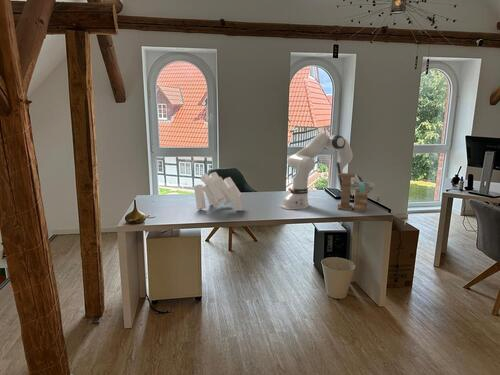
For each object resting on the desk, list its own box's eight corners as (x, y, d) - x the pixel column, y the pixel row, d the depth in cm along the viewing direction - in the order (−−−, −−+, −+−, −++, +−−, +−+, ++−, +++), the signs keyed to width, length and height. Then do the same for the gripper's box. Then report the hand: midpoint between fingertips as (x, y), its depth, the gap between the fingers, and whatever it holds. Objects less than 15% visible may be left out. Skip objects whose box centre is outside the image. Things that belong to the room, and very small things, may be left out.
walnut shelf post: (336, 206, 269) (338, 172, 264) (352, 206, 267) (354, 173, 261) (336, 209, 260) (338, 175, 254) (353, 210, 257) (355, 175, 251)
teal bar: (358, 186, 268) (358, 181, 268) (362, 186, 267) (363, 182, 267) (359, 192, 248) (359, 188, 247) (364, 193, 247) (365, 188, 246)
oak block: (354, 206, 267) (355, 187, 264) (365, 207, 265) (366, 188, 262) (354, 211, 256) (356, 191, 253) (366, 211, 254) (367, 191, 251)
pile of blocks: (245, 210, 276) (232, 169, 282) (247, 206, 247) (231, 160, 252) (203, 224, 273) (190, 182, 278) (199, 221, 244) (185, 175, 249)
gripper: (346, 183, 280) (346, 177, 267) (373, 184, 275) (375, 179, 262) (345, 190, 278) (346, 185, 265) (372, 192, 273) (375, 187, 260)
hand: (361, 182), depth 263 cm, fingers open, 8 cm apart
